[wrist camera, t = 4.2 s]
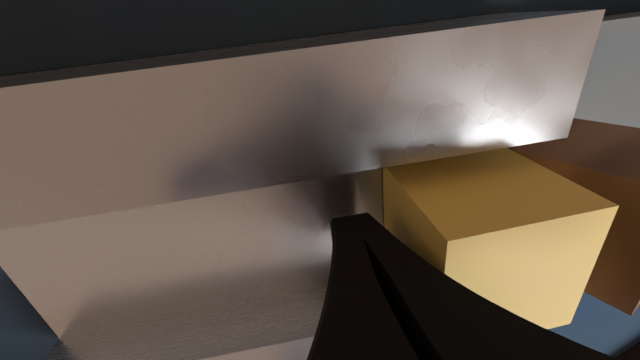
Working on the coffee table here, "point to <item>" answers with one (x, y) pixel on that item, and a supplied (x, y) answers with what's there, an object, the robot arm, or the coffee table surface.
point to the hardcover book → (631, 353)
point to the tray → (613, 74)
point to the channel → (249, 171)
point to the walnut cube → (612, 184)
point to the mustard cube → (501, 228)
